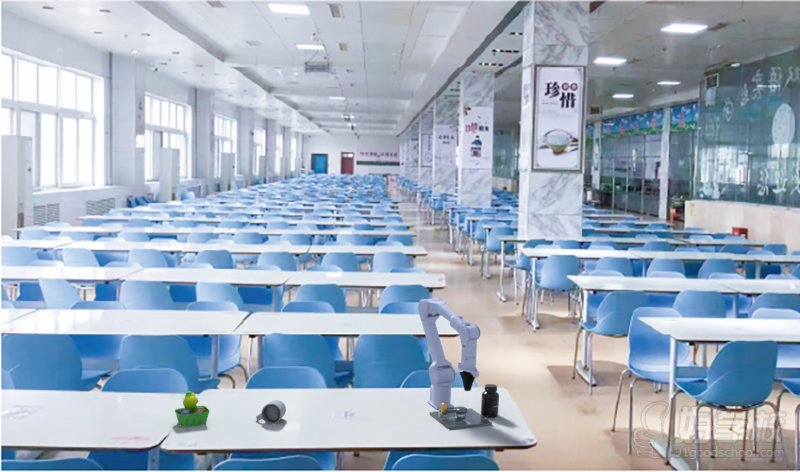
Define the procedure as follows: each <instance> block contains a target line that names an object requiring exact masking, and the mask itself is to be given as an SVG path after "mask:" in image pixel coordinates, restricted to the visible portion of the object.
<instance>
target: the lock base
mask: <svg viewBox="0 0 800 472" xmlns="http://www.w3.org/2000/svg"><path fill="white" fill-rule="evenodd" d="M429 416H430V417H432V418H433V419H434V420H435V421H436V422H439V423H440V425H443V426H444V427H445V428H446V429H447V430H448V429H451V430H460V429H461V430H462V429H469V428H480V427H488V426H489V427H490V426H493V422H492V421H490V420H489V419H487V417H484V416H482V415H481V413H479V412H477V411H476V410H475V409H473V408H467V413H463V414H461V413H456V412H455V413H447V414H446V415H442V414H441V409H437V411H430V412H429Z"/></svg>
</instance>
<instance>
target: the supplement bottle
mask: <svg viewBox="0 0 800 472" xmlns="http://www.w3.org/2000/svg"><path fill="white" fill-rule="evenodd" d="M497 391H498V385H497V384H492V383H487V384H486V383H485V384H484V390H483V392H482V393H481V401H480V402H481V406H480V415H482V416H483V417H484V418H489V419H491V418H492V419H494V418H497V417H498V416H499V407H500V406H499V405H500V394H499V392H497Z"/></svg>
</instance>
